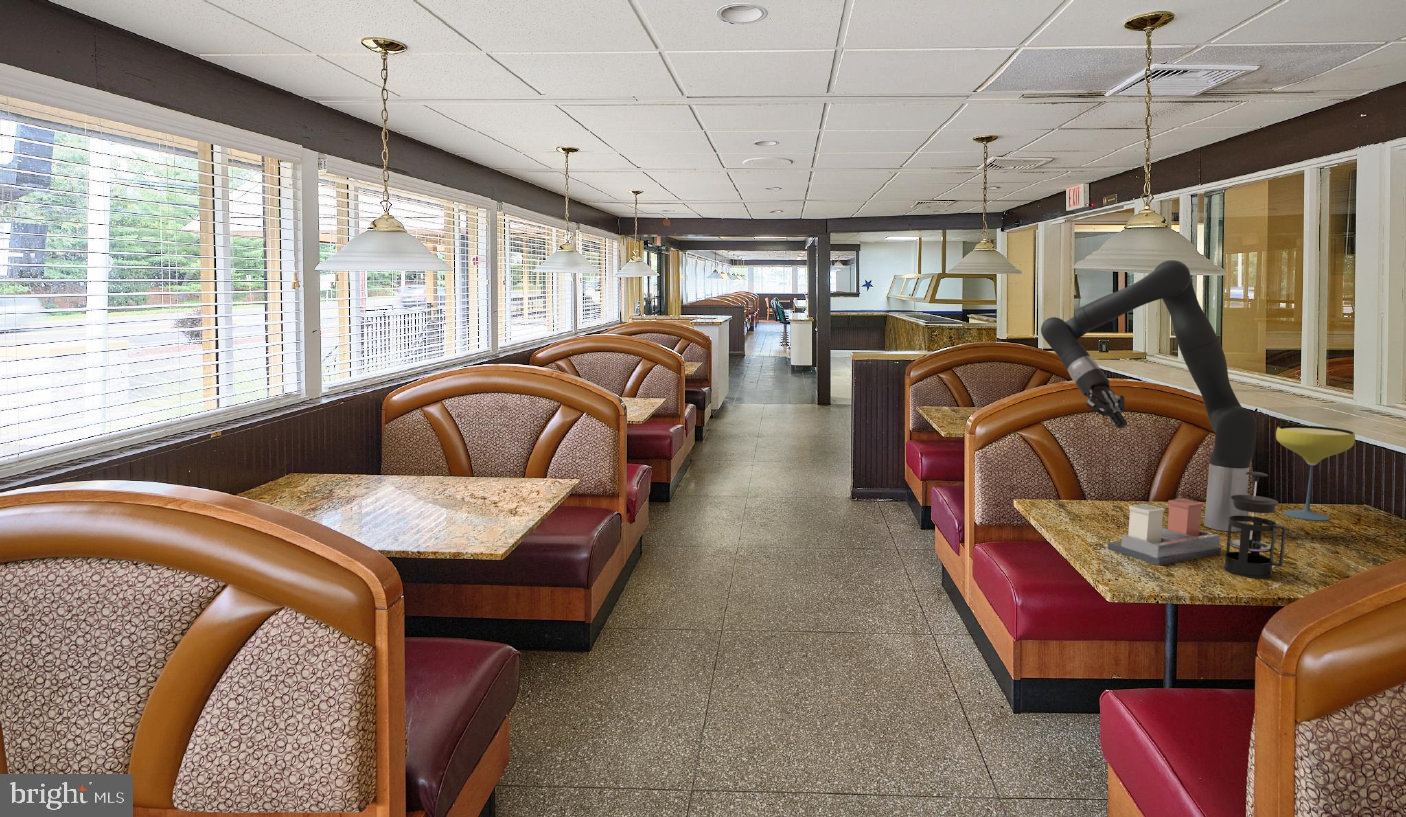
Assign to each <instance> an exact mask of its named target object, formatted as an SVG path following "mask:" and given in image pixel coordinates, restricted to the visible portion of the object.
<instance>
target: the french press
mask: <svg viewBox="0 0 1406 817" xmlns="http://www.w3.org/2000/svg"><path fill="white" fill-rule="evenodd" d="M1246 474H1247V475H1249V476H1251V477H1253V482H1254V489H1253V495H1252V494H1251V495H1250V494H1249V495H1234V496H1231V499H1232V500H1233V503H1234V506H1235V508H1236V509H1238V510H1242V511H1247V512H1248V513H1251V515H1248V516H1241V515H1238V516H1231V517H1229V525H1228V531H1227V537H1226V538H1227V539H1226V547H1225V548H1226V551H1225V562H1224V565H1223V570H1224V571H1225V572H1227V573H1229V574H1232V575H1236V576H1240V577H1243V576H1245V577H1244V578H1250V579H1268V577H1270V576H1272V577H1273V572H1272V570H1273V566H1275V567H1281V566H1282V565H1283V563H1284V554H1285V544H1286V534H1287V527H1286V526H1285V525H1280V524H1277V522H1276V521H1273V519H1272V520H1271V519H1268V518H1265V517H1261V516H1260V517H1259V516H1254V515H1255V513H1256V514H1273V513H1275V512H1276V506H1277V505H1278V504H1279V501H1278V500H1276V499H1274V498H1269V497H1265V496H1258V495H1256V494H1257V488H1258V487H1257V486H1258V483H1259V480H1260V477H1261V478H1263V477H1265V478H1266V477H1268V476H1269V475H1268V474H1267V473H1264V472H1259V471H1249V472H1247V473H1246ZM1236 521H1247V524H1244V523H1240V522H1236ZM1249 523H1250V524H1249ZM1232 526H1233V527H1236V528H1240V529H1241V531H1240V536H1239V537H1240V538H1237V539H1236V538H1235V539H1231V538H1232V531H1231V528H1232ZM1277 529H1279V530H1281V541H1280V550H1279V551H1280V552H1279V560H1278V562H1277V561H1276V562H1275V561H1274V560H1273V559H1274V549H1275V540H1276V539H1275V538H1276V530H1277ZM1263 532H1266V533H1269V532H1271V542H1270V543H1271V544H1268V543H1266V542H1262V541H1261V540H1262V533H1263ZM1231 547H1232V548H1234V549H1237V550H1238V551H1230V549H1231ZM1269 552H1270V553H1269ZM1260 553H1269V557H1268V556H1265V555H1262V554H1260ZM1270 578H1271V577H1270Z"/></svg>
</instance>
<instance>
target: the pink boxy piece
mask: <svg viewBox="0 0 1406 817" xmlns="http://www.w3.org/2000/svg"><path fill="white" fill-rule="evenodd" d="M1167 504H1168V506H1169V507H1168V518H1167V529H1169V530H1172V531H1176V532H1180V533H1183V534H1187V535H1191V536H1194V537H1196V536H1199V534H1200V530H1201V520H1202V508H1203V507H1204V502H1200V501H1195V500H1191V499H1188V498H1176V499H1171V500H1168V502H1167Z"/></svg>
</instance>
